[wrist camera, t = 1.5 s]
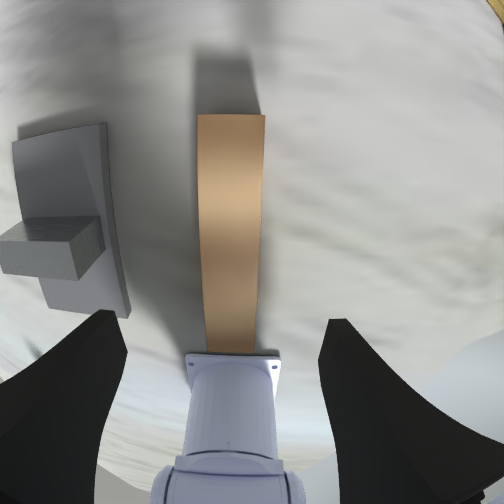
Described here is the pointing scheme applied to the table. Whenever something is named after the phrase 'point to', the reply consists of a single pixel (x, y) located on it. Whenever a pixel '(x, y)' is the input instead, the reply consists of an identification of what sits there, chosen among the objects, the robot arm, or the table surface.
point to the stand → (67, 222)
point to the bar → (230, 226)
